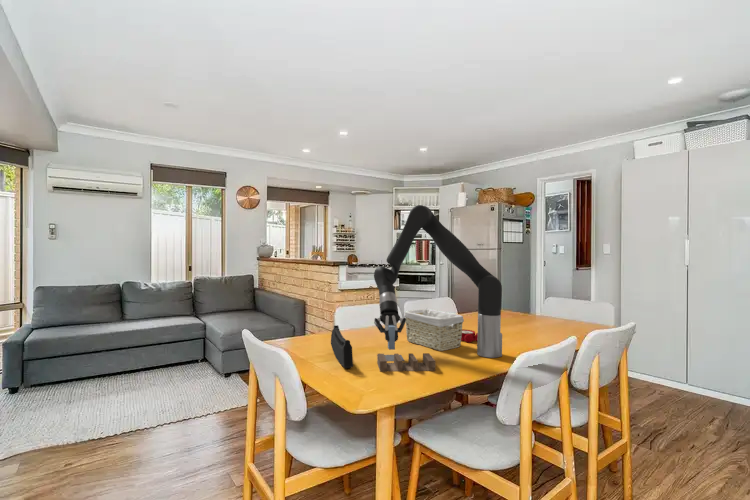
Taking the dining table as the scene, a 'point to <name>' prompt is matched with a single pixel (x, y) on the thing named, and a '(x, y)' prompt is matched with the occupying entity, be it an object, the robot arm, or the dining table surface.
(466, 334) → the alarm clock
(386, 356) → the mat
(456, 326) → the storage basket
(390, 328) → the tile
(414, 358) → the rack
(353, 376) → the dining table surface
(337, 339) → the magazine
